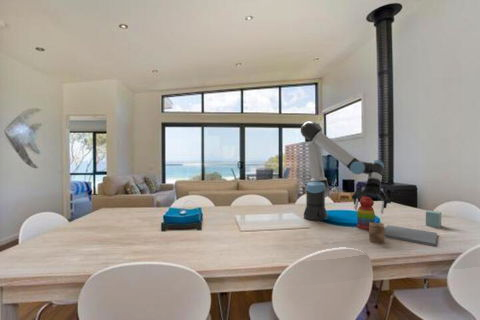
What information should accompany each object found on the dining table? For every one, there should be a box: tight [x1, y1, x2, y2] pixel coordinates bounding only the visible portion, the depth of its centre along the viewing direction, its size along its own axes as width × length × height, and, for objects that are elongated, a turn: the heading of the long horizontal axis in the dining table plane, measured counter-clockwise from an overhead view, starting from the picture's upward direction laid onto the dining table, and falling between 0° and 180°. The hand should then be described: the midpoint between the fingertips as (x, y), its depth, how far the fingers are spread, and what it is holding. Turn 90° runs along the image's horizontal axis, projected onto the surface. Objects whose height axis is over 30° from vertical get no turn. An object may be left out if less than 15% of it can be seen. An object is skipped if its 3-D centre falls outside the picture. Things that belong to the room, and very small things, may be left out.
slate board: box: [385, 224, 438, 247], centre depth 125 cm, size 22×20×1 cm
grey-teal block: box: [425, 210, 442, 228], centre depth 142 cm, size 6×6×8 cm
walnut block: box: [368, 222, 386, 245], centre depth 117 cm, size 6×6×8 cm
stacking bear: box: [356, 196, 376, 231], centre depth 138 cm, size 11×10×18 cm
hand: (368, 210), depth 137 cm, fingers open, 13 cm apart
